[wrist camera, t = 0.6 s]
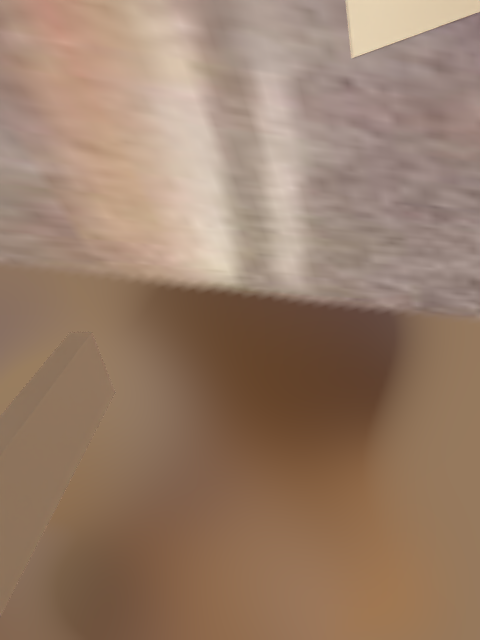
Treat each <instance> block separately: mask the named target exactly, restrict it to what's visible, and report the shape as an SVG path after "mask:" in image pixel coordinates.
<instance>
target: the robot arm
mask: <svg viewBox="0 0 480 640" xmlns="http://www.w3.org/2000/svg"><path fill="white" fill-rule="evenodd" d="M114 394H115V390H114V388H113V385H112V383H111V380H110V378H109V375H108V372H107V370H106V367H105V365H104V362H103V359H102V357H101V354H100V352H99V349H98V346H97V344H96V341H95V339H94V336H93V334H92V332H72V333H71V332H70V333H69V334H68V335H67V336H66V338H65V339H64V340H63V341H62V342H61V343H60V345H59V346H58V347H57V348H56V349H55V351H54V352H53V353H52V354H51V356H50V357H49V358H48V359H47V360H46V362H45V363H44V364H43V365H42V366H41V368H40V369H39V370H38V371H37V373H36V374H35V375H34V376H33V377H32V379H31V380H30V381H29V382H28V383H27V384H26V386H25V387H24V388H23V389H22V390H21V392H20V393H19V394H18V395H17V396H16V398H15V399H14V400H13V401H12V402H11V404H10V405H9V406H8V408H7V409H6V410H5V411H4V412H3V413H2V415H1V416H0V616H1V614H2V612H3V610H4V609H5V607H6V605H7V603H8V601H9V599H10V597H11V595H12V593H13V591H14V589H15V587H16V585H17V583H18V581H19V579H20V577H21V575H22V574H23V571H24V570H25V568H26V566H27V564H28V562H29V560H30V558H31V556H32V554H33V552H34V550H35V548H36V546H37V544H38V542H39V540H40V538H41V536H42V534H43V533H44V530H45V529H46V527H47V525H48V523H49V521H50V519H51V517H52V515H53V513H54V511H55V509H56V507H57V505H58V503H59V501H60V500H61V497H62V496H63V494H64V492H65V490H66V488H67V486H68V484H69V482H70V480H71V478H72V476H73V474H74V472H75V470H76V468H77V466H78V465H79V463H80V461H81V459H82V457H83V455H84V453H85V451H86V449H87V447H88V445H89V443H90V441H91V439H92V437H93V435H94V433H95V431H96V429H97V428H98V426H99V424H100V422H101V420H102V418H103V416H104V414H105V412H106V410H107V408H108V406H109V404H110V402H111V400H112V398H113V396H114Z"/></svg>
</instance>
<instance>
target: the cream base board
mask: <svg viewBox="0 0 480 640" xmlns="http://www.w3.org/2000/svg"><path fill="white" fill-rule="evenodd" d="M345 3H346V12H347V22H348V32H349V41H350V51H351V58H354V57H357V56H360V55H362V54H365V53H368V52H371V51H373V50H376V49H379V48H382V47H384V46H387V45H390V44H393V43H395V42H398V41H401V40H404V39H406V38H409V37H412V36H415V35H417V34H420V33H423V32H426V31H428V30H431V29H434V28H437V27H439V26H442V25H445V24H448V23H450V22H453V21H456V20H459V19H461V18H464V17H467V16H470V15H472V14H475V13H478V12H480V0H345Z"/></svg>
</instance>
